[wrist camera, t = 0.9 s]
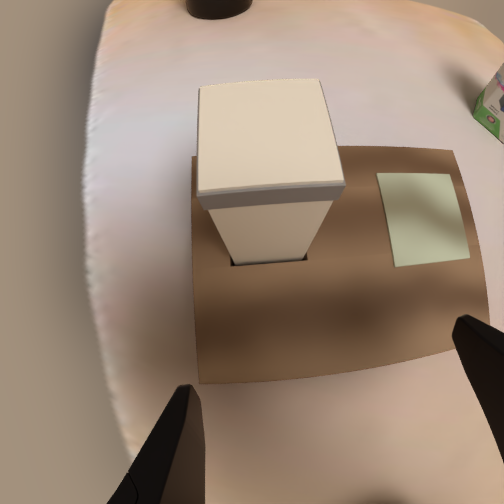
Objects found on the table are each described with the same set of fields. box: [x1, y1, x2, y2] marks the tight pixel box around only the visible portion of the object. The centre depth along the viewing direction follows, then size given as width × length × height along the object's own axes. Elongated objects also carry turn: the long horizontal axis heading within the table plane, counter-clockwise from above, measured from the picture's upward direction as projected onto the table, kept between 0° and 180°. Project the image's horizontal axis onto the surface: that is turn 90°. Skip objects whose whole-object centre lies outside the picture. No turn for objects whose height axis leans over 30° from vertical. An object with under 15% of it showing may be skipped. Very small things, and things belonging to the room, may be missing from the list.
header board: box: [191, 146, 490, 384], centre depth 21 cm, size 16×22×3 cm
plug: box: [197, 79, 346, 266], centre depth 16 cm, size 5×5×14 cm
